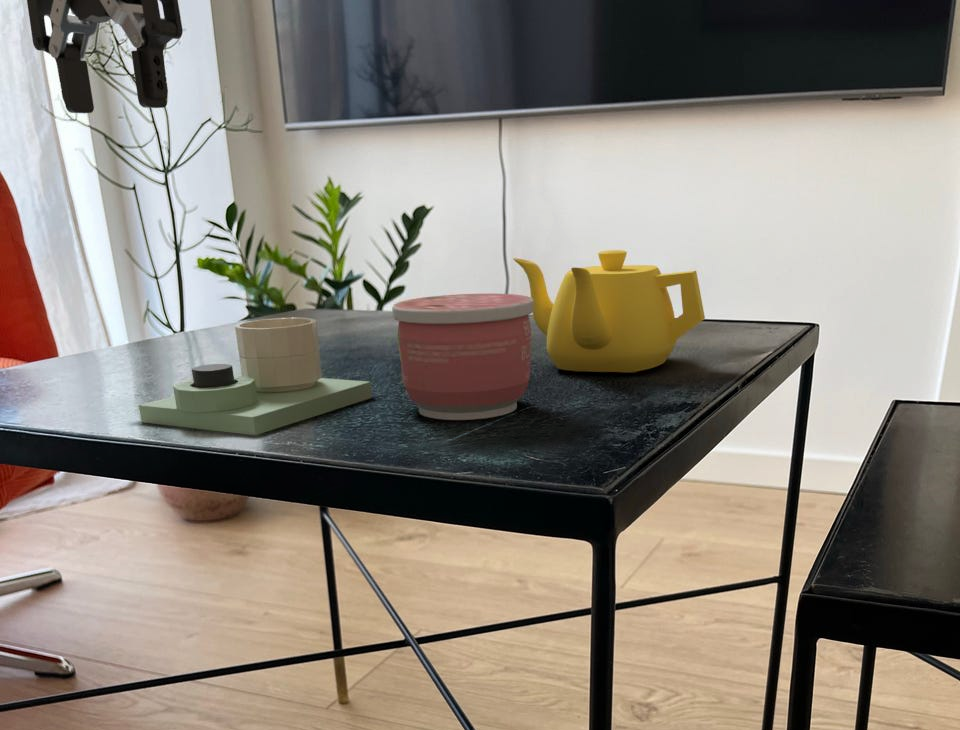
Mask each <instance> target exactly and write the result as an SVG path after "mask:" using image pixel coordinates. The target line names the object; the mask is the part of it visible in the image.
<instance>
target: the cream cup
mask: <svg viewBox="0 0 960 730" xmlns="http://www.w3.org/2000/svg"><path fill="white" fill-rule="evenodd" d="M234 329H235V337H236V344H237V351H238V358H239V366H240V373H241V376H243V377H250V378H252V379H254V380H255V384H256V391H258V392H287V391H296V390H301V389H306V388H309V387H312V386H314V385H315V384H316V382H315V381H317V380H319V379H321V378H323V370H322V361H321V352H320V344H319V343H320V342H319V334H318V333H319V332H318V325H317V320H316V319H315V318H311V317H273V318H263V319H256V320H249V321H243V322H239V323H236V324H235V325H234Z"/></svg>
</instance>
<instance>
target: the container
mask: <svg viewBox="0 0 960 730" xmlns="http://www.w3.org/2000/svg"><path fill="white" fill-rule="evenodd" d="M391 310H392V319H394V320H395V321H398V325H397V326H398V327H397V343H398V351H399V360H400V368H401V376H402V384H403V387H404V388H405V392H406V393H407V395H408V397H409V399H410V400H411V402H413V403H414V404H415V405H416V406H418V413H419V414H420V415H421V416H423V417H426V418H429V419H435V420H436V419H437V420H446V421H447V420H448V421H467V420H469V421H470V420H482V419H490V418H495V417H499V416H504V415H508V414H509V413H513V412H514V411H516V410H517V408H518V401H519V400H520V399H521V398H522V397H523V396H524V395H525V393H526V391H527V387H528V385H529V381H530V379H531V353H532V352H531V351H532V350H531V347H532V326H531V321H530V316H529V315H531V314H533V313H532V312H533V311H534V301H533V299H532V298H531V296H528V295H522V294H515V293H514V294H513V293H457V294H445V295H433V296H423V297H417V298H411V299H405V300H402V301H401V300H400V301H398V302H396V303H394V304H393V305H392V307H391Z"/></svg>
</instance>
